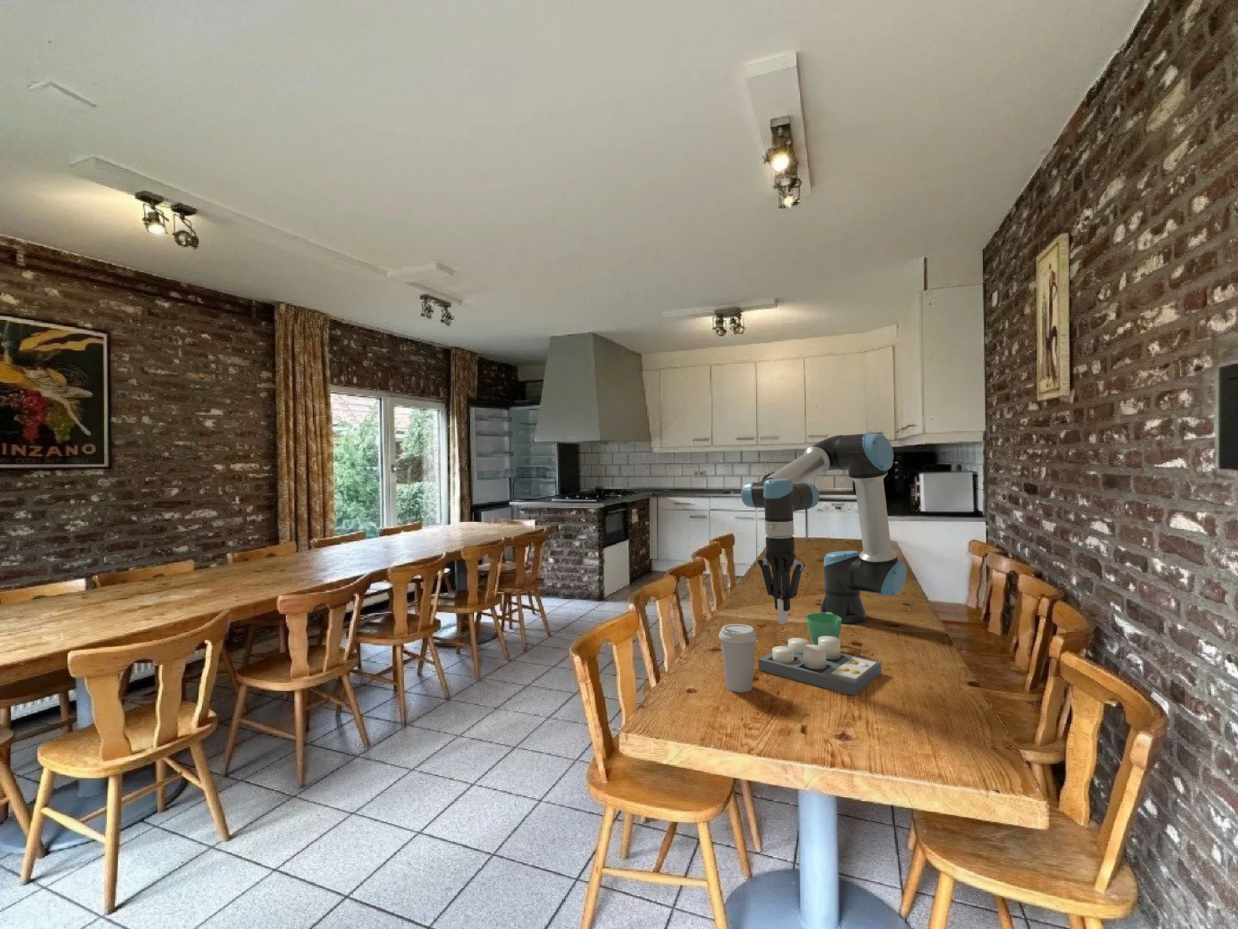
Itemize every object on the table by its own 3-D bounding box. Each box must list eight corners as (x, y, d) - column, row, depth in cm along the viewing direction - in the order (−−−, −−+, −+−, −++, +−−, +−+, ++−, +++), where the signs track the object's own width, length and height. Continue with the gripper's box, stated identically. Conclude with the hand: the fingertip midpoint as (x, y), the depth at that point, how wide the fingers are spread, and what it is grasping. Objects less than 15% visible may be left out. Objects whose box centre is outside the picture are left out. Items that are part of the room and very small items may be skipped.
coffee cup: (713, 684, 148) (711, 626, 147) (743, 677, 152) (742, 621, 151) (734, 698, 139) (732, 636, 139) (766, 690, 143) (764, 630, 142)
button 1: (779, 660, 160) (778, 644, 160) (797, 665, 156) (797, 649, 156) (769, 666, 156) (768, 650, 156) (788, 671, 152) (787, 654, 152)
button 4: (824, 650, 160) (823, 634, 160) (843, 655, 156) (843, 638, 156) (815, 656, 156) (814, 639, 156) (835, 660, 152) (834, 644, 152)
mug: (839, 659, 162) (838, 624, 162) (803, 654, 167) (802, 620, 167) (847, 643, 174) (846, 611, 174) (814, 639, 179) (813, 607, 179)
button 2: (794, 651, 166) (793, 636, 166) (812, 656, 162) (812, 640, 162) (784, 657, 162) (784, 641, 162) (803, 661, 158) (803, 645, 158)
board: (790, 652, 169) (789, 639, 169) (881, 673, 151) (881, 659, 151) (758, 670, 156) (758, 657, 156) (854, 695, 138) (854, 681, 138)
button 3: (809, 659, 153) (809, 643, 153) (829, 664, 150) (829, 647, 149) (799, 665, 149) (799, 648, 149) (820, 671, 146) (820, 653, 145)
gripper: (751, 536, 157) (754, 621, 158) (795, 540, 148) (799, 630, 149) (765, 532, 162) (768, 614, 163) (808, 535, 153) (812, 622, 154)
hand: (783, 621), depth 156 cm, fingers closed
